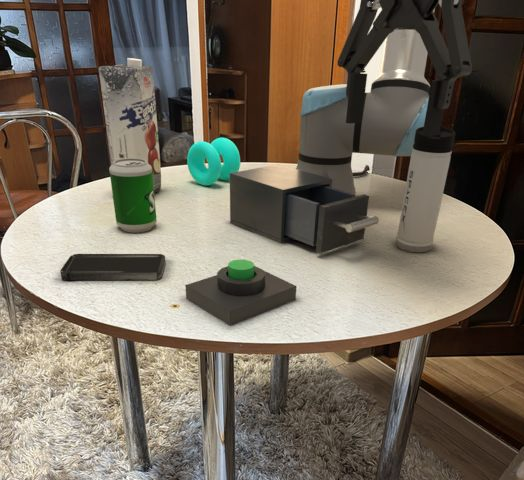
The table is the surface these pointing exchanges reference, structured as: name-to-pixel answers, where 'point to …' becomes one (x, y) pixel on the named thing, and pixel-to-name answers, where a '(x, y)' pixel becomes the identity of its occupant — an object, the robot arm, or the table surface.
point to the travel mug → (424, 189)
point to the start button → (241, 269)
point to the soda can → (133, 194)
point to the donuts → (213, 161)
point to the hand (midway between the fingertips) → (389, 129)
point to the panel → (240, 295)
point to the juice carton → (131, 114)
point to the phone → (114, 267)
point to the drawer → (326, 217)
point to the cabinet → (267, 198)
